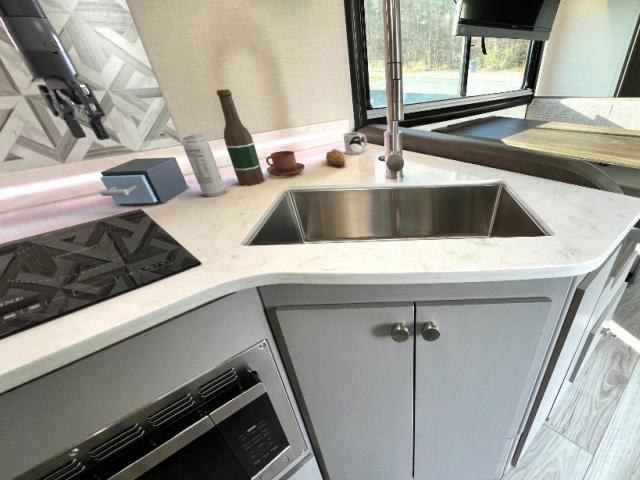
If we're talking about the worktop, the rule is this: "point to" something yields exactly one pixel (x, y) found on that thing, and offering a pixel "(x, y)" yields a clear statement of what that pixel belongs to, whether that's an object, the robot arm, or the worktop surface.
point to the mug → (354, 142)
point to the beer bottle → (239, 143)
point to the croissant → (336, 158)
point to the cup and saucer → (283, 164)
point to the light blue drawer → (128, 189)
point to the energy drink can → (203, 164)
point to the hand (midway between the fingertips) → (92, 138)
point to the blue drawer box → (154, 176)
